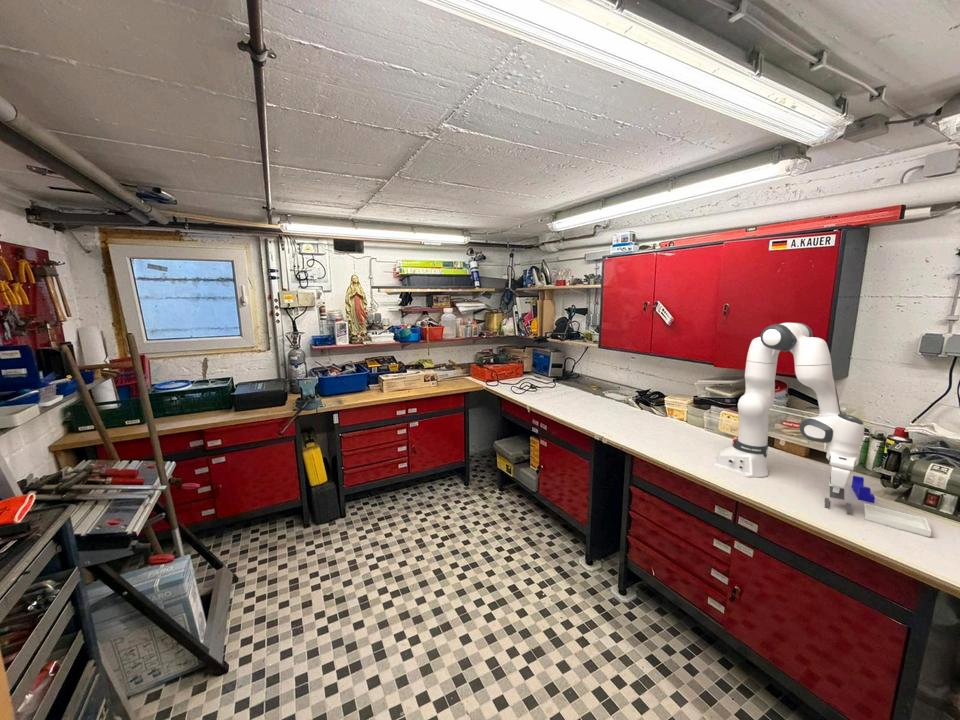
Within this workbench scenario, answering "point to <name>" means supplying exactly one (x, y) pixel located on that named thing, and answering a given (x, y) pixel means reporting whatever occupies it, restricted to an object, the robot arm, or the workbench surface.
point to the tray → (897, 520)
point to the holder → (848, 506)
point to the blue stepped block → (862, 490)
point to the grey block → (836, 495)
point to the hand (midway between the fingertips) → (835, 489)
